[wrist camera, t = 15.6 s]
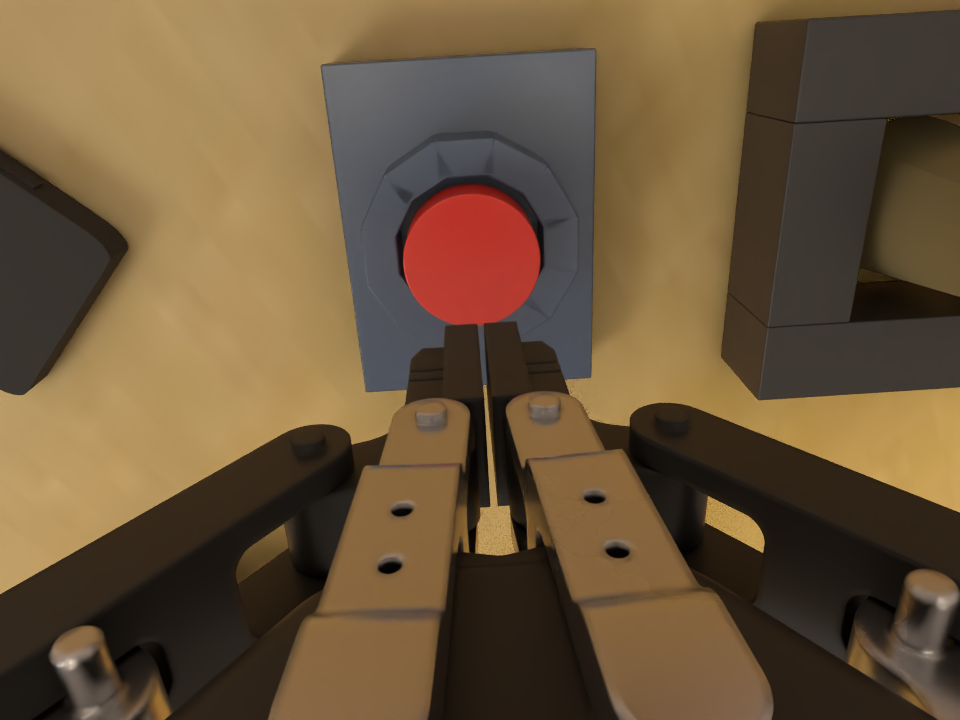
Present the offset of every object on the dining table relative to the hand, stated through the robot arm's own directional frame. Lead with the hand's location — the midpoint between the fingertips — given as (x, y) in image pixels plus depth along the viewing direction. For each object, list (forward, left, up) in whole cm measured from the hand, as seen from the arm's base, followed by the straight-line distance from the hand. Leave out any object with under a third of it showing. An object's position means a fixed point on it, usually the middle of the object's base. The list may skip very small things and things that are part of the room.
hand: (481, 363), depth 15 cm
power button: (0, 0, -9) cm, 9 cm away
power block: (0, 0, -13) cm, 13 cm away
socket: (0, +17, -13) cm, 21 cm away
